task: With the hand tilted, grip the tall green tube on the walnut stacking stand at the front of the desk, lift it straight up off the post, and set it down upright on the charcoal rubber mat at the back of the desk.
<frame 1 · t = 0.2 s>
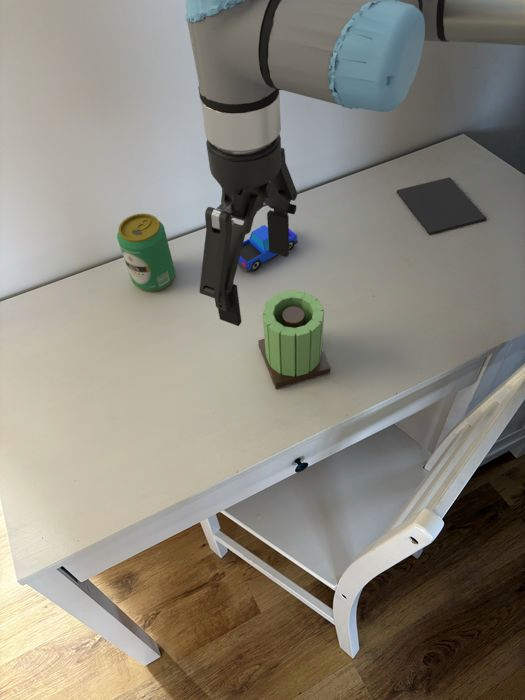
hand: (256, 285, 70), 19 cm above the table, tool pointing down, fingers open, 13 cm apart
green tube: (293, 353, 85), point 1 cm above the table, touching stacking stand
stacking stand: (293, 359, 86), on the table
rubber mat: (439, 205, 107), on the table
toy car: (264, 254, 101), on the table
beverage can: (154, 278, 99), on the table
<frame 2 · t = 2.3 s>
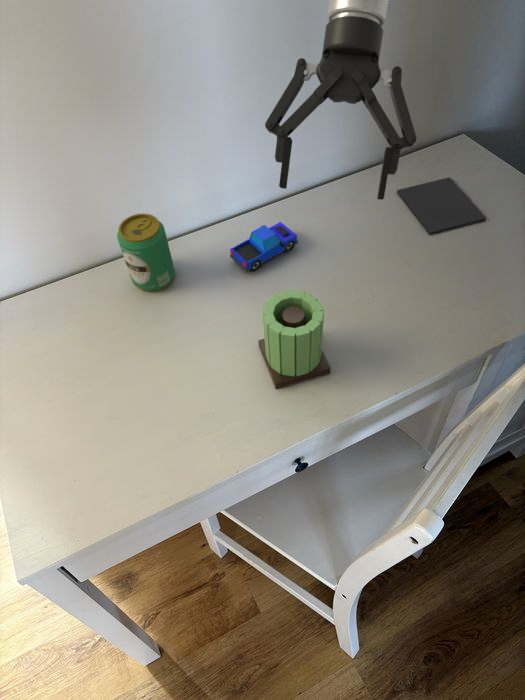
hand: (331, 193, 74), 23 cm above the table, tool tilted 40°, fingers open, 13 cm apart
nothing on the table moved.
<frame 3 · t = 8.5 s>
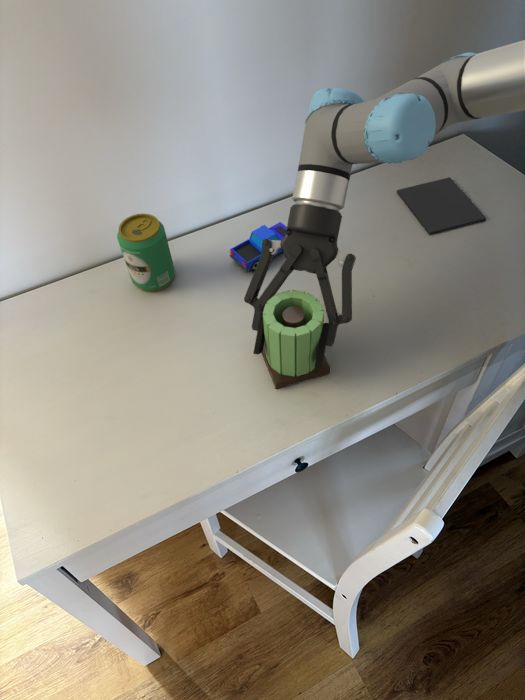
hand: (287, 359, 81), 4 cm above the table, tool tilted 45°, fingers closed on green tube, 9 cm apart
green tube: (293, 353, 85), point 2 cm above the table, touching gripper, stacking stand
everything else where it was.
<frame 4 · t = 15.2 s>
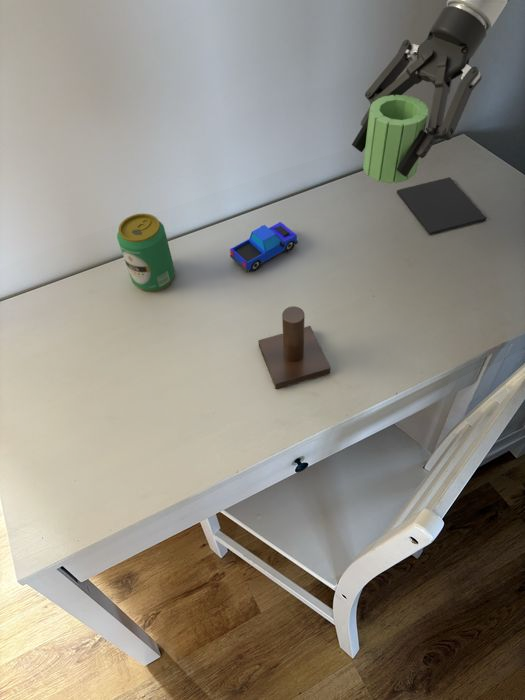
hand: (378, 160, 85), 19 cm above the table, tool tilted 45°, fingers closed on green tube, 9 cm apart
green tube: (389, 167, 89), point 16 cm above the table, touching gripper
everything else where it was.
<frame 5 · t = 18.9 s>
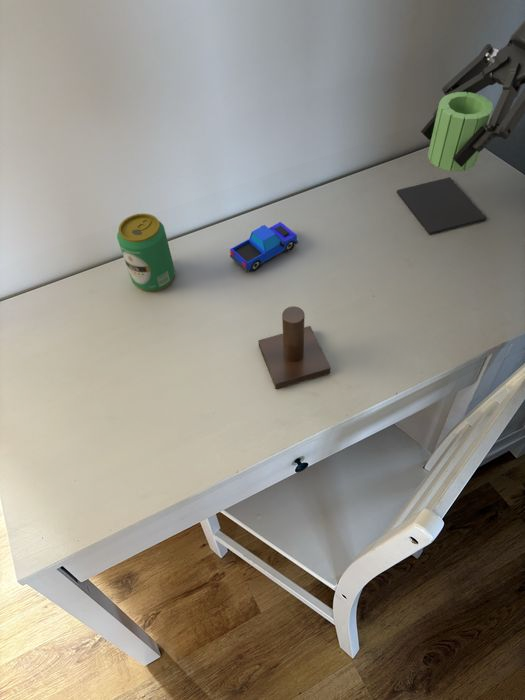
hand: (440, 149, 95), 14 cm above the table, tool tilted 45°, fingers closed on green tube, 9 cm apart
green tube: (452, 157, 98), point 11 cm above the table, touching gripper
everything else where it was.
when the fingers open (3 cm above the table, at t = 22.2 s): green tube stays where it is, resting on rubber mat.
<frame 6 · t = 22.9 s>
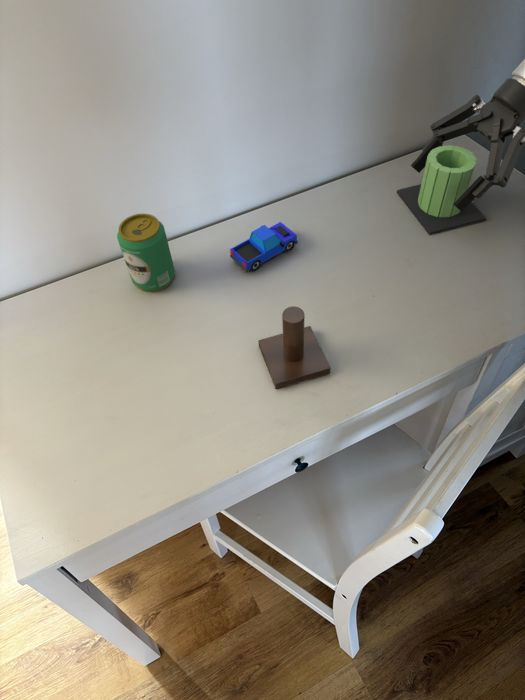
hand: (435, 188, 102), 5 cm above the table, tool tilted 45°, fingers open, 13 cm apart
green tube: (440, 203, 106), point 1 cm above the table, touching rubber mat
everything else where it was.
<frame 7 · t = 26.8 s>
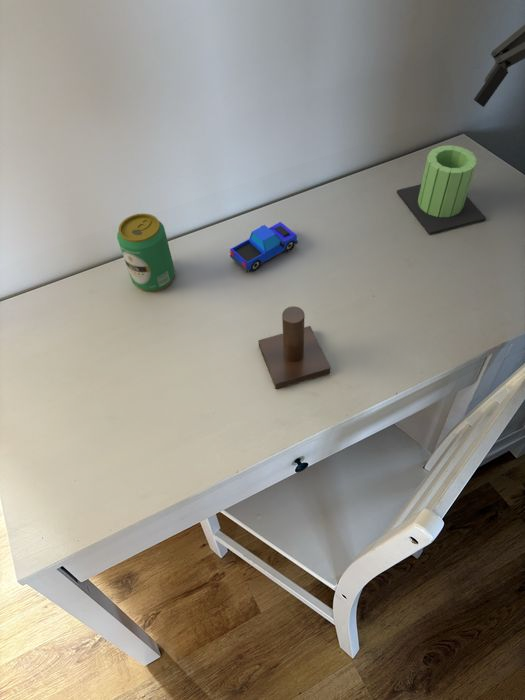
hand: (504, 118, 93), 17 cm above the table, tool tilted 40°, fingers open, 13 cm apart
nothing on the table moved.
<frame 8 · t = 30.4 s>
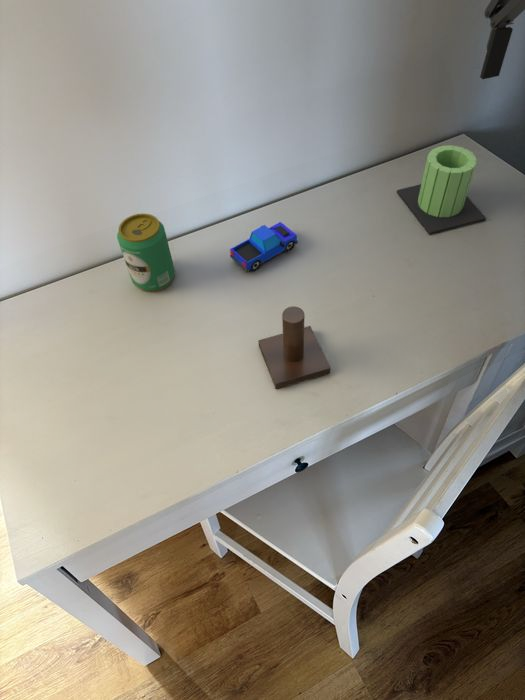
hand: (515, 98, 76), 29 cm above the table, tool pointing down, fingers open, 13 cm apart
nothing on the table moved.
at the end: green tube inside the target area on the rubber mat (0.0 cm from its centre), point 0.6 cm above the rubber mat's base; green tube tilted 0°; the gripper is holding nothing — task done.
